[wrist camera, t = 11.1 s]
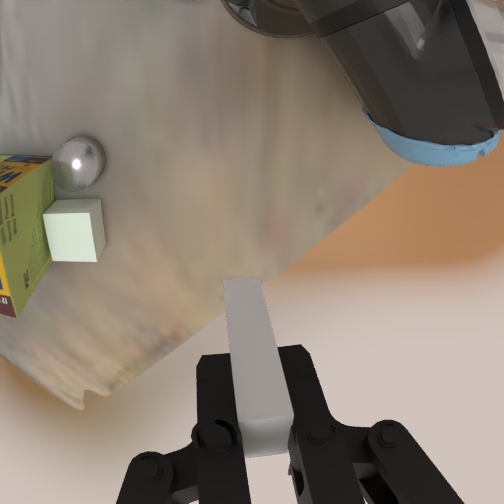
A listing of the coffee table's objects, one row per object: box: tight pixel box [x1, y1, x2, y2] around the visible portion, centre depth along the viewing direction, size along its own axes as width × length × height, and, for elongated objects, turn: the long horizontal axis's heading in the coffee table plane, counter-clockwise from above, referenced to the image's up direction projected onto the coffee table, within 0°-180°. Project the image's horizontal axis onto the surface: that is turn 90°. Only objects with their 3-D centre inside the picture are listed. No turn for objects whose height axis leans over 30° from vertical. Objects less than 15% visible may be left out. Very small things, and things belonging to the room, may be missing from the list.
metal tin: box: [51, 136, 105, 192], centre depth 35 cm, size 6×6×4 cm
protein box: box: [0, 155, 54, 318], centre depth 32 cm, size 10×15×16 cm
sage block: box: [43, 199, 106, 262], centre depth 39 cm, size 7×7×5 cm
